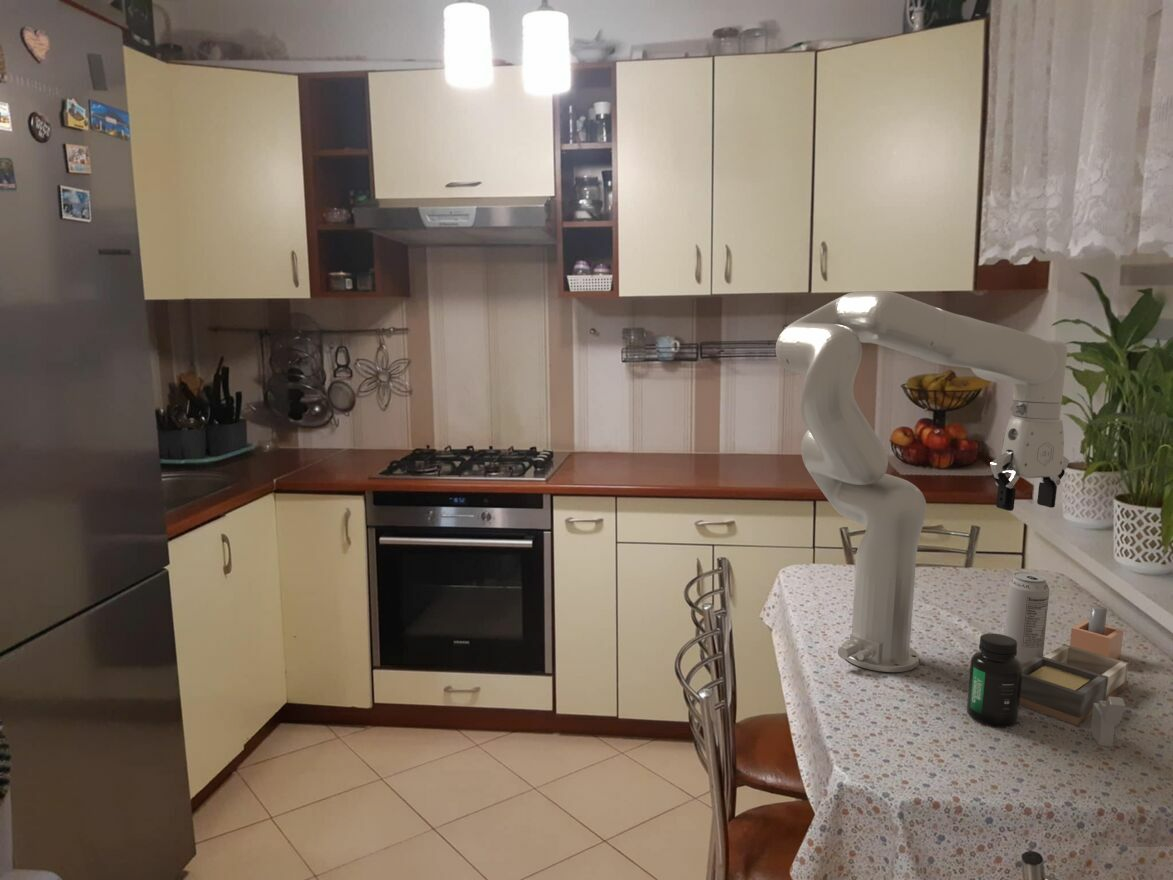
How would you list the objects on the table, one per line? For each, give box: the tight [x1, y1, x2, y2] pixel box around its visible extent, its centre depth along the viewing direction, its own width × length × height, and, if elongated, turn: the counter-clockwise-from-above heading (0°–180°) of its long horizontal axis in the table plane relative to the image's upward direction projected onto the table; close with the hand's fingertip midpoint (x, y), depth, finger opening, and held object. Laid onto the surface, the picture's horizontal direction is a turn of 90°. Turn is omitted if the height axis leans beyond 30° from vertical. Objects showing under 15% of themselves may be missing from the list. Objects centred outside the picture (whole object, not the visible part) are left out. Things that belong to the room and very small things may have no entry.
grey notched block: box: [1089, 696, 1126, 748], centre depth 115 cm, size 7×2×8 cm, turn 164°
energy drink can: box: [1003, 571, 1050, 665], centre depth 142 cm, size 6×6×15 cm
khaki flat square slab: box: [1030, 665, 1091, 691], centre depth 127 cm, size 7×7×1 cm
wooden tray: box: [1019, 643, 1129, 726], centre depth 130 cm, size 20×10×4 cm, turn 130°
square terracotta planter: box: [1069, 605, 1124, 660], centre depth 144 cm, size 6×6×9 cm
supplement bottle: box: [966, 632, 1023, 728], centre depth 122 cm, size 7×7×12 cm
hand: (1025, 507), depth 148 cm, fingers open, 9 cm apart
